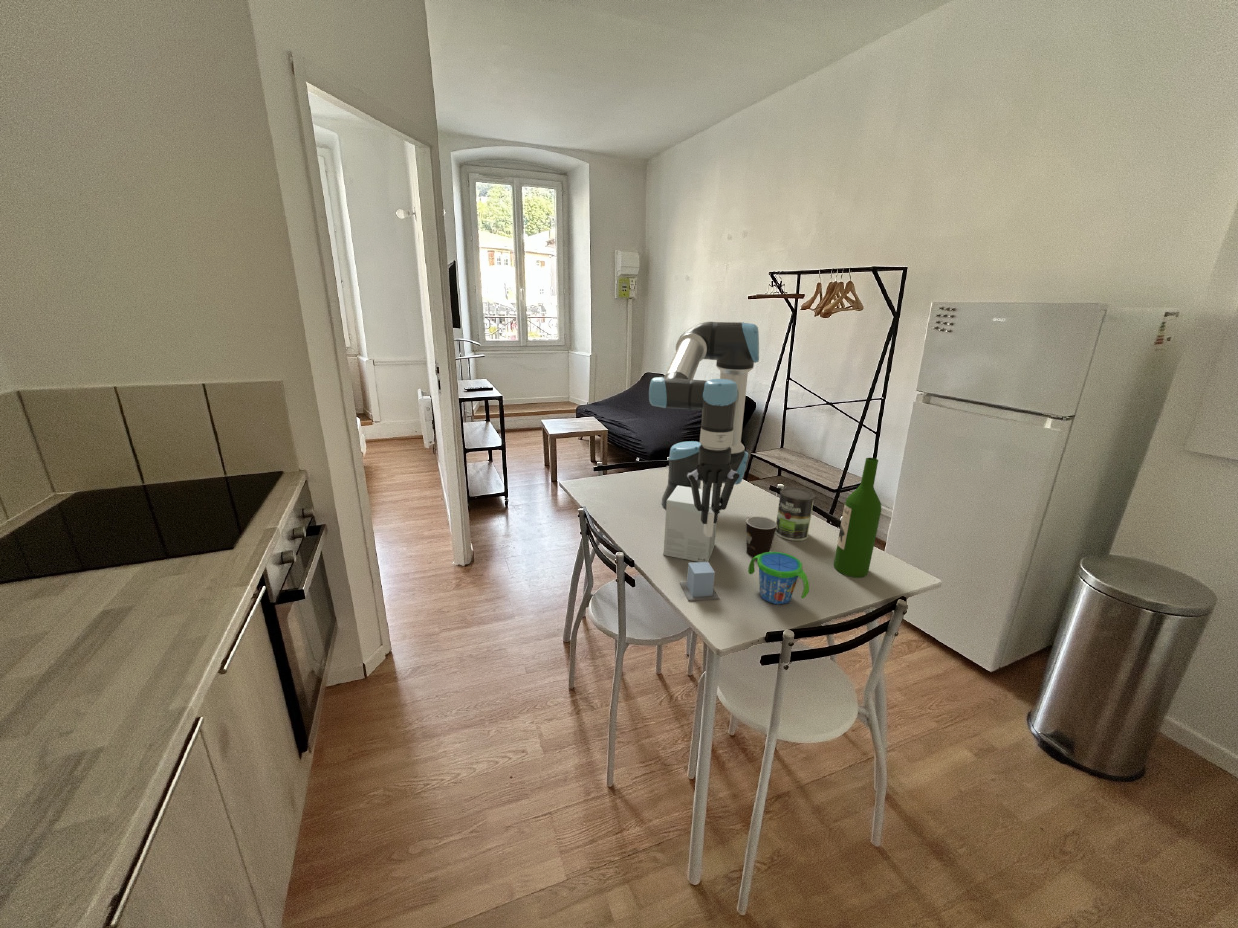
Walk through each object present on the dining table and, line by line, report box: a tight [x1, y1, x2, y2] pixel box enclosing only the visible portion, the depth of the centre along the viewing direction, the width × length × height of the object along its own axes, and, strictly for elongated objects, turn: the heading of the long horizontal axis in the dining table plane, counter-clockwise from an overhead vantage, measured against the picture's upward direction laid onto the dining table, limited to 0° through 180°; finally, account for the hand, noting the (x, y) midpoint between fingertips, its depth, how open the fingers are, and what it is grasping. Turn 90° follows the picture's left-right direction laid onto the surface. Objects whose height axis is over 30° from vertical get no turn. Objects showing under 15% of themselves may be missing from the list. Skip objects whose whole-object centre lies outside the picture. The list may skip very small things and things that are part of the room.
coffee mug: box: [745, 515, 777, 558], centre depth 145 cm, size 12×9×10 cm
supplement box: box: [662, 485, 718, 562], centre depth 144 cm, size 13×13×18 cm
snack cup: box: [747, 551, 810, 605], centre depth 122 cm, size 16×10×10 cm
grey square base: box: [679, 581, 720, 602], centre depth 125 cm, size 8×8×5 cm
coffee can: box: [775, 487, 816, 542], centre depth 157 cm, size 10×10×14 cm
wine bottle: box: [833, 457, 882, 578], centre depth 133 cm, size 9×9×32 cm
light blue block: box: [686, 561, 716, 597], centre depth 124 cm, size 5×5×7 cm
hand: (707, 534), depth 125 cm, fingers closed
